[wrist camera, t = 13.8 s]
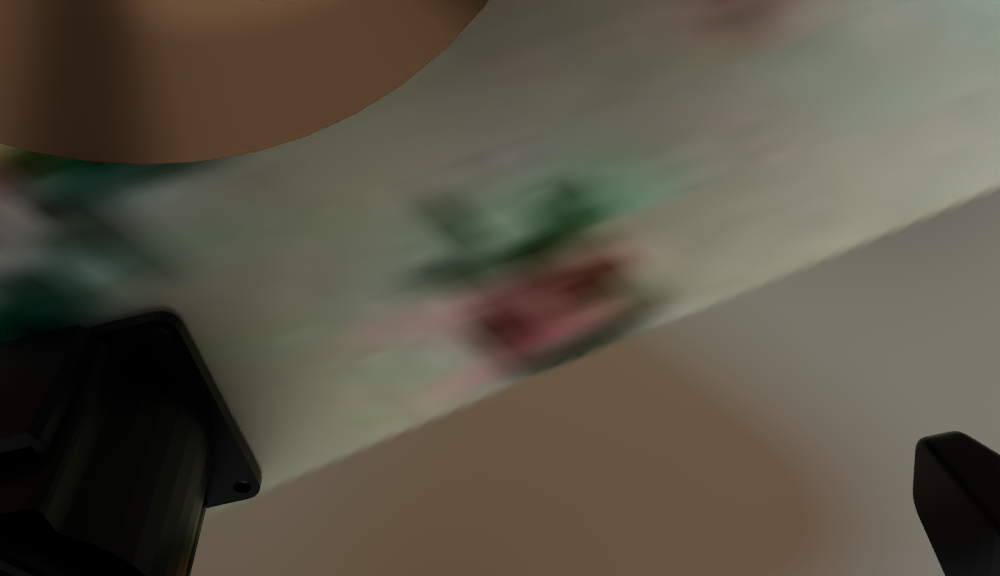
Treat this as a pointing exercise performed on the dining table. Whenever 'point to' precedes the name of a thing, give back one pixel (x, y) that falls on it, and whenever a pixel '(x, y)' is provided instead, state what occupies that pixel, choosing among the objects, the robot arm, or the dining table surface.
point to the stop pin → (204, 71)
